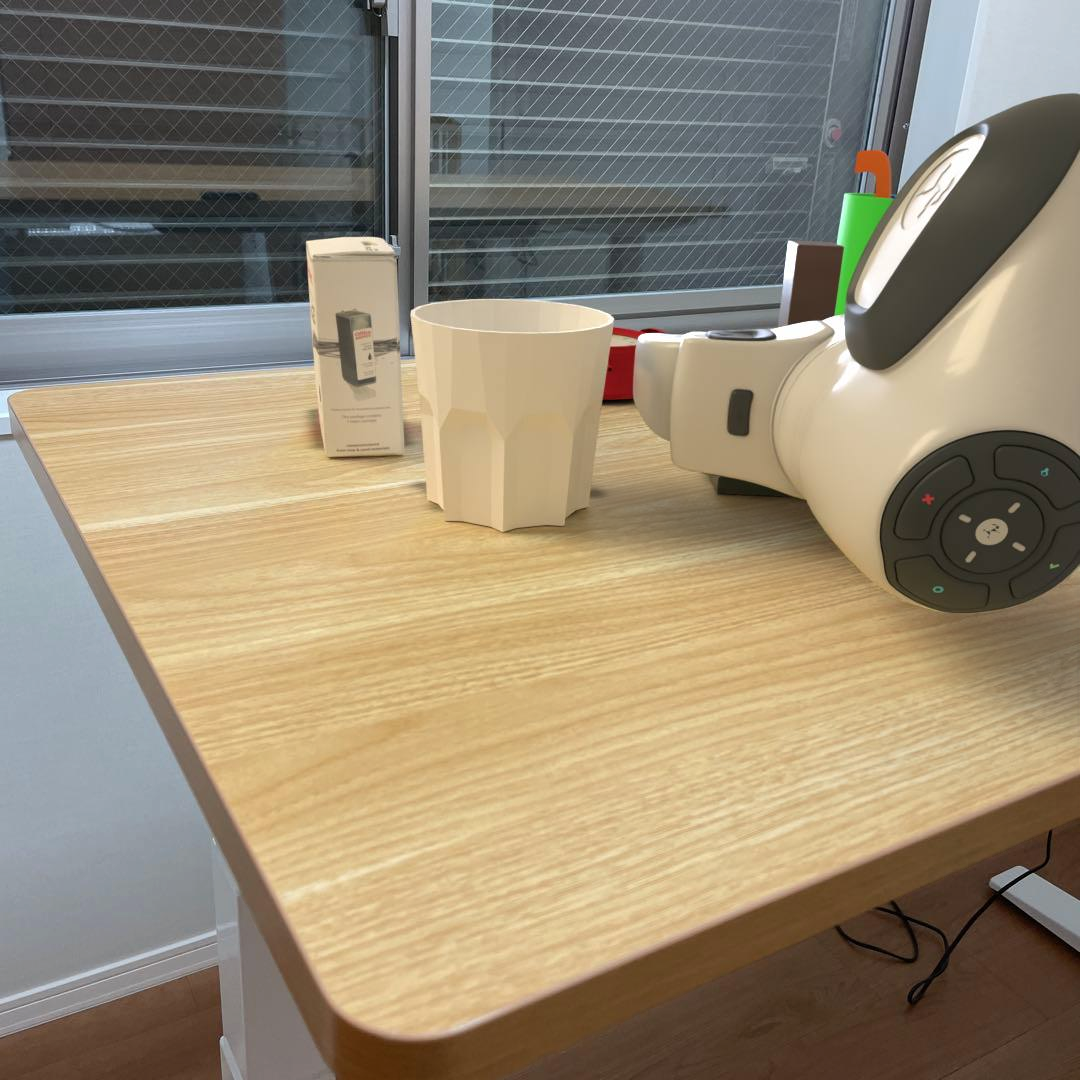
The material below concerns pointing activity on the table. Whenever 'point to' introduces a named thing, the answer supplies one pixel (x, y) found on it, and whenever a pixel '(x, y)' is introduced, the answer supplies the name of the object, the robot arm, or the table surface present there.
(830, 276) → the eraser
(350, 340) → the ink box
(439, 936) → the table surface
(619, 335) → the alarm clock
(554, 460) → the cup
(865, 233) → the green hooked bin
